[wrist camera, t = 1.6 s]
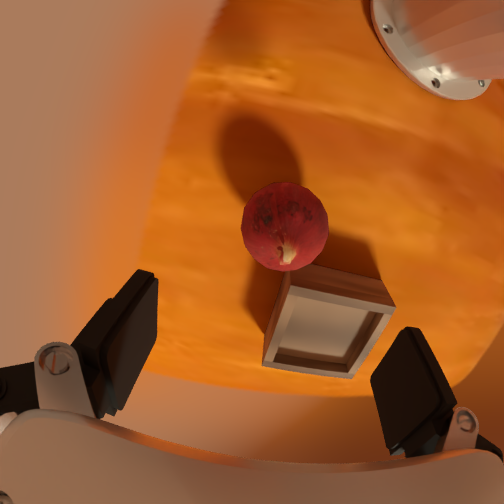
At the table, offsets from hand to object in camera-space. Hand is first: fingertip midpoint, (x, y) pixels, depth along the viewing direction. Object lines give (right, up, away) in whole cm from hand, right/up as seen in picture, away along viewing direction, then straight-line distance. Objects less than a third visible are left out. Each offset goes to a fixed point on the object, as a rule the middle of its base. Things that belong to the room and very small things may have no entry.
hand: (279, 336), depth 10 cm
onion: (+2, +6, +12) cm, 14 cm away
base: (+6, -3, +16) cm, 17 cm away
